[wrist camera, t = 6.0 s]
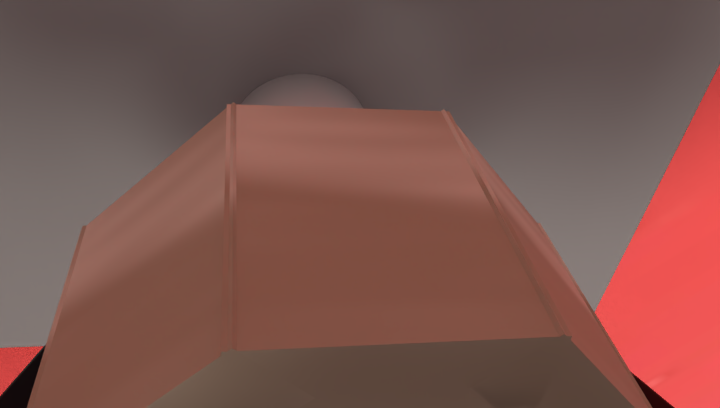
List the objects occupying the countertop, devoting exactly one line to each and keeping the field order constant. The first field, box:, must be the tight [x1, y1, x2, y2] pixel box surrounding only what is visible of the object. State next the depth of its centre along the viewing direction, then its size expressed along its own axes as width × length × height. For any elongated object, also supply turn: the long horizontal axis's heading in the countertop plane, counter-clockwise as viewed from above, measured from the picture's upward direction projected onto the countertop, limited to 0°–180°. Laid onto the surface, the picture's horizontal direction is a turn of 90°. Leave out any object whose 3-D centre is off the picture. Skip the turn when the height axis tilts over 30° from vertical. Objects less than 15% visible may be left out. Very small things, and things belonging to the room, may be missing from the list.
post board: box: [0, 0, 720, 348], centre depth 13 cm, size 14×20×6 cm
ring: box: [27, 102, 652, 408], centre depth 9 cm, size 7×7×4 cm
